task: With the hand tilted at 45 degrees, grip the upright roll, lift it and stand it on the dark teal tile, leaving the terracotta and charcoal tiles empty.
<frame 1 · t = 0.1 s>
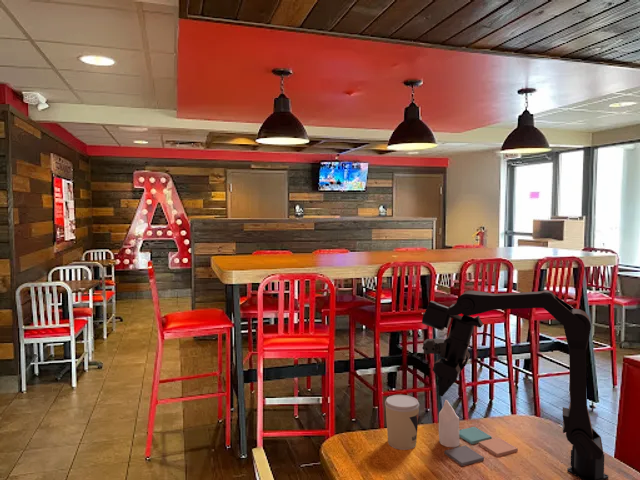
hand: (444, 389, 131), 15 cm above the table, tool pointing down, fingers open, 9 cm apart
terracotta tile: (497, 448, 130), on the table
teal tile: (473, 436, 136), on the table
coffee cup: (402, 443, 133), on the table
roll: (448, 443, 133), on the table
charcoal tile: (463, 456, 125), on the table
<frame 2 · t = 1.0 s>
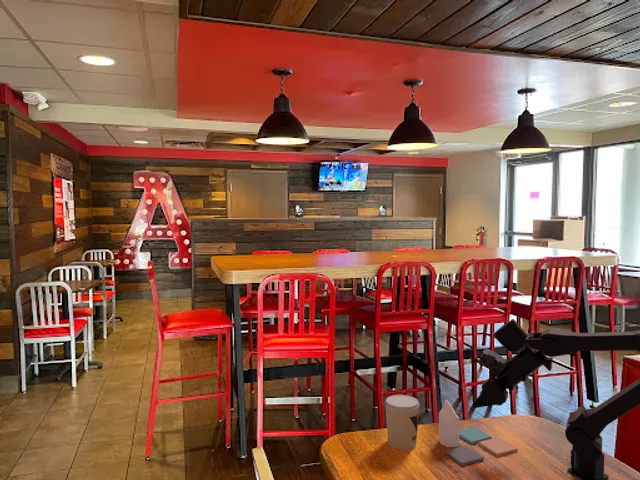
hand: (477, 400, 129), 13 cm above the table, tool tilted 45°, fingers open, 9 cm apart
nothing on the table moved.
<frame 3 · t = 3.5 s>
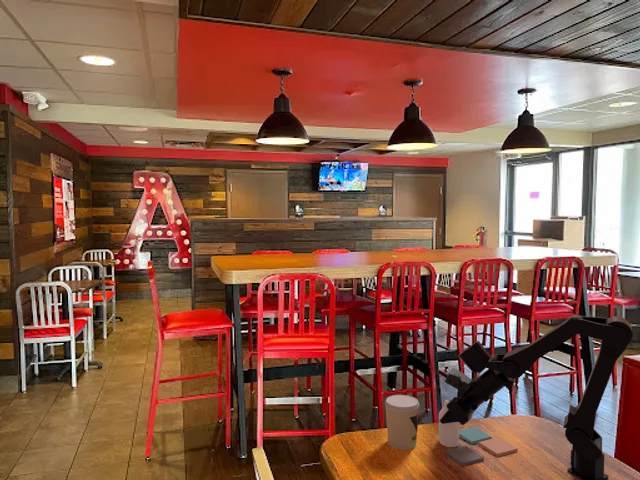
hand: (443, 418, 133), 7 cm above the table, tool tilted 45°, fingers closed on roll, 6 cm apart
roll: (448, 443, 133), on the table, touching gripper
everything else where it was.
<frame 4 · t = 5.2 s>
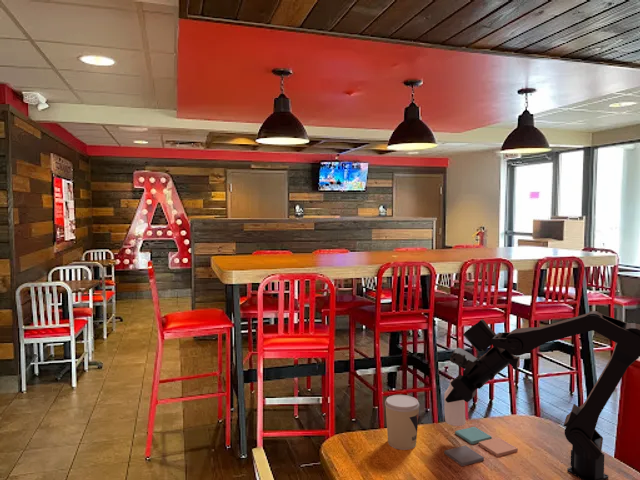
hand: (449, 397, 134), 12 cm above the table, tool tilted 45°, fingers closed on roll, 6 cm apart
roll: (454, 422, 133), point 5 cm above the table, touching gripper
everything else where it was.
when the fingers open (9 cm above the table, at t = 7.0 s): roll drops 1 cm, resting on teal tile.
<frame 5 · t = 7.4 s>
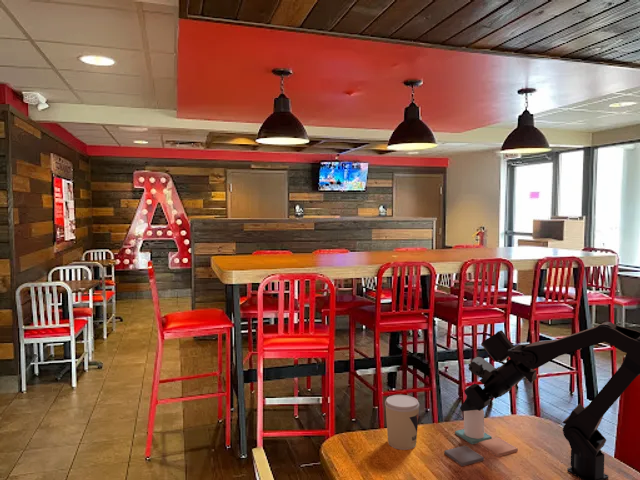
hand: (468, 404, 137), 9 cm above the table, tool tilted 45°, fingers open, 9 cm apart
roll: (473, 434, 136), point 1 cm above the table, touching teal tile
everything else where it was.
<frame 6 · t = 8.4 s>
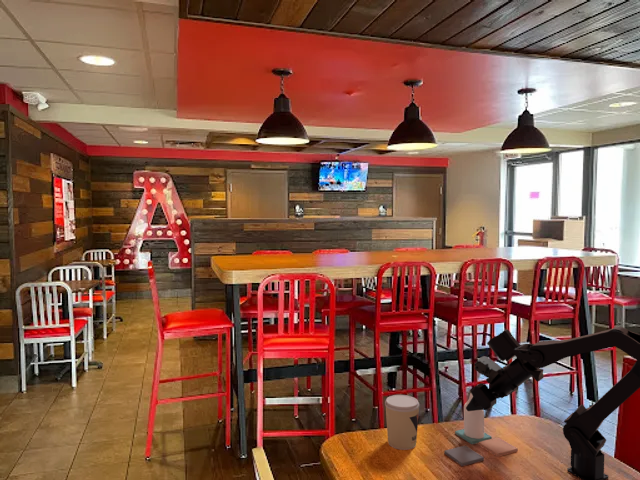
hand: (474, 404, 136), 9 cm above the table, tool tilted 45°, fingers open, 9 cm apart
nothing on the table moved.
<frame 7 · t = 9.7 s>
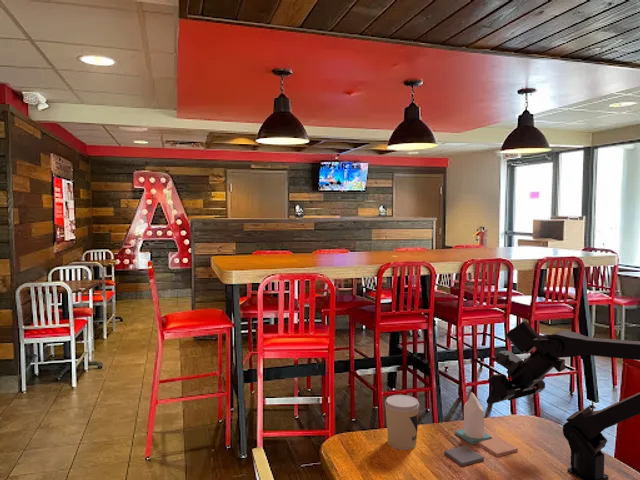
hand: (497, 401, 132), 12 cm above the table, tool tilted 40°, fingers open, 9 cm apart
nothing on the table moved.
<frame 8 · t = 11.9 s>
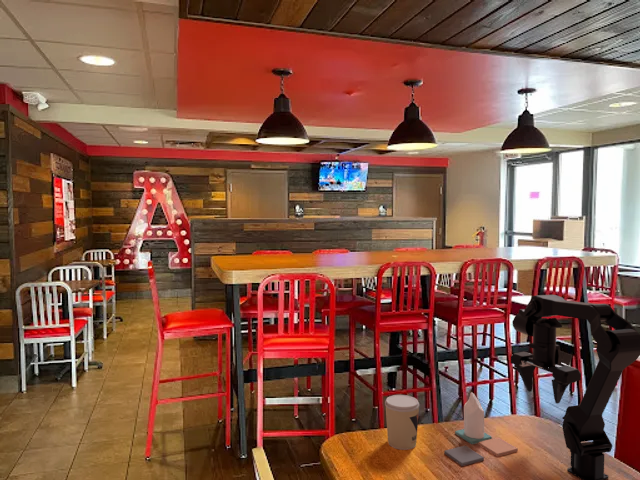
hand: (543, 397, 131), 13 cm above the table, tool pointing down, fingers open, 9 cm apart
nothing on the table moved.
at the end: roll 0.2 cm from the target spot, point 0.6 cm above the table; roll tilted 0°; the gripper is holding nothing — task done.
